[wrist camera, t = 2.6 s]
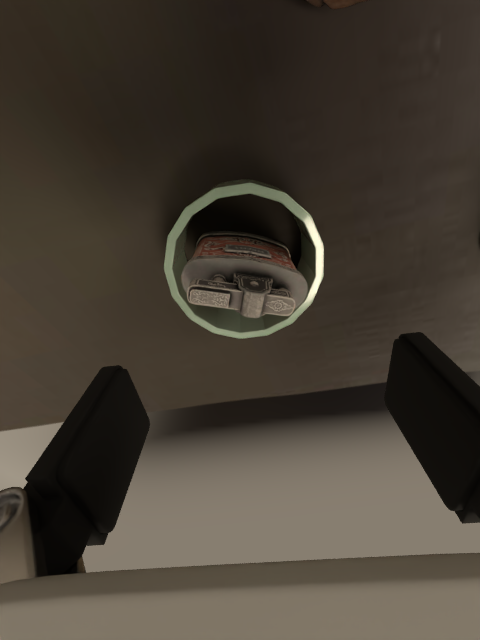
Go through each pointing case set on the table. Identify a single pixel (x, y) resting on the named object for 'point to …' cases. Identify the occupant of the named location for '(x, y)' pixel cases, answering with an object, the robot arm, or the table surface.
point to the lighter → (243, 275)
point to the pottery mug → (334, 3)
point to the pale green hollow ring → (229, 319)
